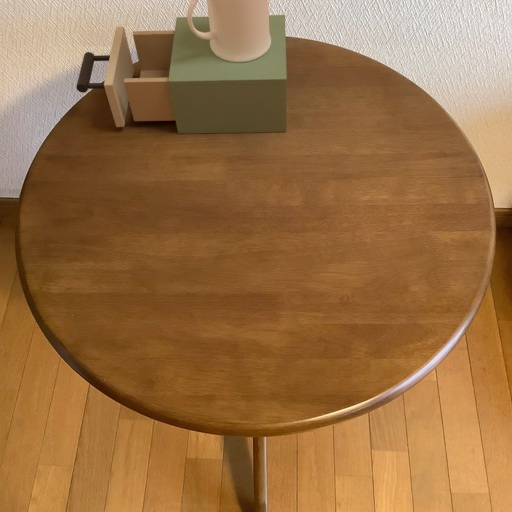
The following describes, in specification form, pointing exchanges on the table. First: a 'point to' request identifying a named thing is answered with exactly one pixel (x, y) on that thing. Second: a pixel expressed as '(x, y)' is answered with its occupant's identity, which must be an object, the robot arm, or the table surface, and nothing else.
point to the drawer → (135, 89)
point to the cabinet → (227, 84)
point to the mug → (236, 28)
